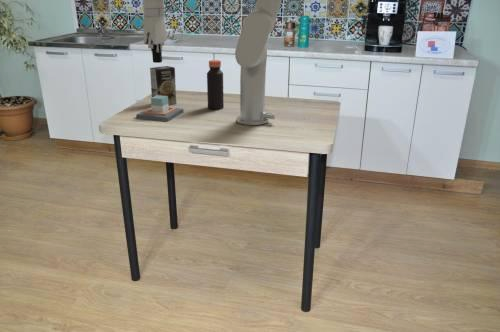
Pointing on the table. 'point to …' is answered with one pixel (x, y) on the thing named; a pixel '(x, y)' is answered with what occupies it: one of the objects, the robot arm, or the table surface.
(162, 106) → the brick stack
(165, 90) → the coffee box
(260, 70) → the robot arm
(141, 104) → the table surface
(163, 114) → the slate plate
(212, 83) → the bottle
